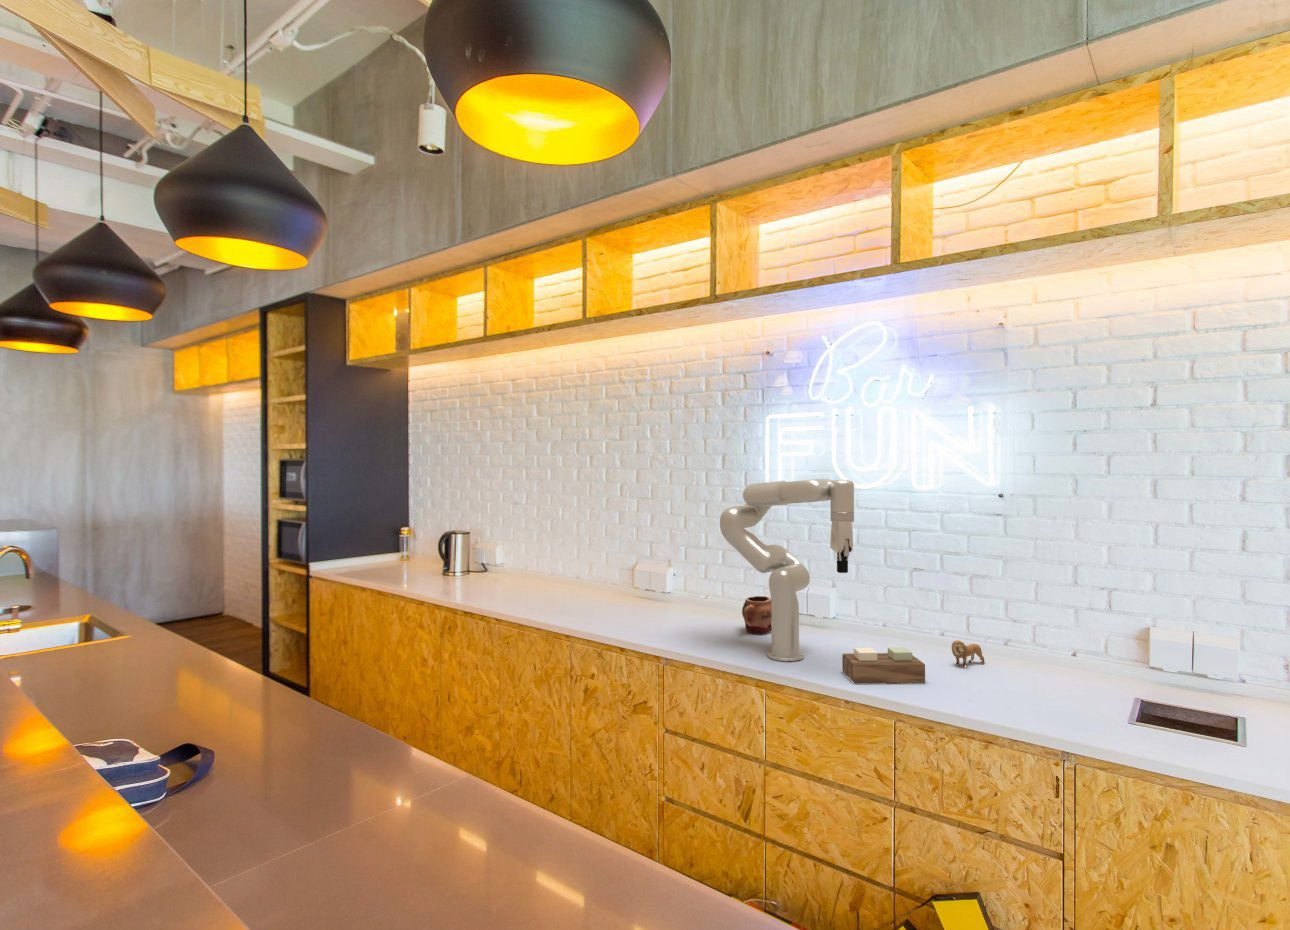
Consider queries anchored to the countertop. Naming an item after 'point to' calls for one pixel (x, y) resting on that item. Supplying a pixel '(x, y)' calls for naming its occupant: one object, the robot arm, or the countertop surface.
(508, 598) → the countertop surface
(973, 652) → the lion figurine
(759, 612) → the decorative planter
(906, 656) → the pale green block
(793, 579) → the robot arm
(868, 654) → the cream block
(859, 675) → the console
